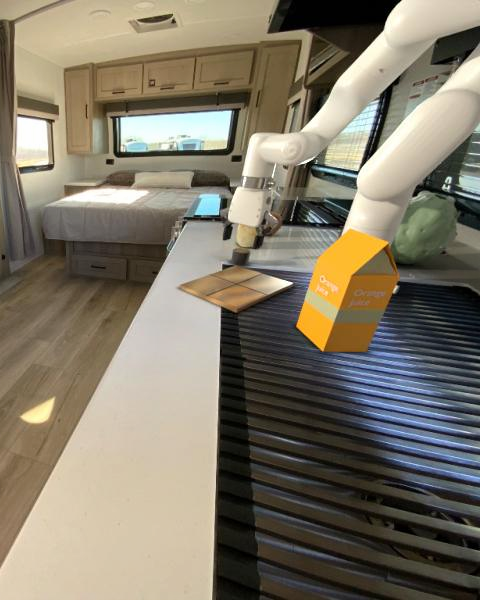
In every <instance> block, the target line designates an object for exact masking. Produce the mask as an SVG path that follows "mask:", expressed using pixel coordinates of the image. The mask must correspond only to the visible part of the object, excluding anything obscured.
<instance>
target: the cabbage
mask: <svg viewBox="0 0 480 600" xmlns="http://www.w3.org/2000/svg"><path fill="white" fill-rule="evenodd" d="M455 202H456V199H455V197H453V196H450V195H448V196H447V195H444V194H439V193H438V192H431V191H429V190H422V191H420V192H419V193H418V194H417V196H415V197H413V198H412V197H411V199H410V202H409V204H408V207H407V209H406V211H405V214H404V216H403V219H402V221H401V223H400V226H399V228H398V230H397V233H396V235H395V237H394V240H393V242H392V245H391V247H390V250H391V253H392V257H393V260H394V263H396V264H397V263H398V264H401V265H417V264H423V263H425V262H427V261H430V260H433V259H436V258H438V257H439V256H440V255H441V254H442V253H443V252H444V251H446V250H447V248H449V246H450V245H451V244H453V242H454V241H455V240H456V237H457V236H458V232H457V230H458V227H457V224H458V220H457V219H458V218H460V215H461V210H460V211H458V212H457V208H456V206H455Z"/></svg>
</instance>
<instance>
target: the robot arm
mask: <svg viewBox="0 0 480 600" xmlns="http://www.w3.org/2000/svg"><path fill="white" fill-rule="evenodd" d="M479 26H480V0H401V1H400V2H398V3H397V4H396V5H395V7H394V8H393V9H392V10H391V12H390V13H389V15H388V16H387V19H386V21H385V25H384V27H383V31H381V32H380V34H379V35H377V37H376V38H375V39H374V40H373V41H372V42H371V44H369V46H368V47H367V48H366V49H365V50H364V51H363V52H362V53H361V54H360V55H359V56H358V58H357V59H356V60H354V62H353V63H352V64H351V65H349V67H348V68H347V69H346V70H345V71H344V72H343V73H342V74H341V75H340V77H339V78H338V79H337V81H336V82H335V84H334V86H333V87H332V89H331V92H330V94H329V96H328V98H327V99H326V101H325V103H324V104H323V106H321V108H320V109H319V111H318V112H317V113H316V114H315V115H314V116H313V117H312V119H311V120H309V122H308V123H307V124H306V125H305V126H304V127H303V128H302V129H301V130H300V131H296V132H287V133H279V132H255V133H254V134H252V135H251V136H250V138H249V140H248V141H249V142H248V145H247V150H246V155H245V160H244V164H243V170H242V172H241V173H242V174H241V176H240V177H241V178H240V183H239V186H237V187H236V189H235V191H234V194H233V197H232V199H231V202H230V205H229V206H228V207H226V208H223V209H220V210H219V216H220V221H221V223H222V227H223V231H222V239H221V240H222V241H223V242H225V241H229V240H231V239H232V233H233V229H234V226H233V225H234V224H236V225H238V224H240V225H244V226H249V227H254V228H255V229H256V231H257V233H258V235H256V236H255V239H254V243H253V247H251V249H253V250H259V249H261V247H262V246H263V244H264V240H265V236H267V235H266V234H267V233H269V232H271V231H272V230H273V229H274V228H275V227H276V226H277V225H278V223H279V222H278V221H277V220H276V219H275V218H274V217H273V216H271V215H270V212H272V211H271V210H272V204H273V189H272V188H271V187H275V186H276V184H277V181H276V180H274V173H275V169H276V166H277V165H280V166H284V167H295V166H299V165H302V164H306V163H308V162H310V161H312V160H314V158H316V157H317V156H318V155H319V154H320V153H321V152H323V150H325V149H326V148H327V147H329V145H330V144H331V143H332V142H333V141H334V140H335V139H336V138H337V137H338V136H339V135H340V134H342V132H343V131H344V130H345V129H346V128H347V127H349V125H350V124H352V122H353V121H355V119H357V117H359V116H360V115H361V114H362V113H363V112H364V111H365V110H366V109H367V107H368V106H369V105H371V103H373V102H374V101H375V100H376V99H377V97H379V96H380V95H381V94H382V93H383V92H384V91H385V90H386V89H387V88H388V87H389V86H390V85H391V84H392V83H393V82H394V81H396V80H397V78H399V76H401V75H402V73H404V72H405V70H407V69H408V68H409V67H410V66H411V65H412V64H413V63H414V62H415V61H417V60H418V59H419V58H420V57H421V56H422V55H423V54H424V53H425V52H426V51H427V50H428V49H429V48H430V47H431V46H432V45H433V44H434V43H435V42H436V41H437V40H438V39H440V38H443V37H447V36H450V35H453V34H457V33H461V32H463V31H464V32H465V31H467V30H470V29H473V28H476V27H479ZM479 125H480V42H479V43H478V44H477V46H476V47H475V48H474V50H473V51H472V52H471V53H470V55H468V57H467V58H466V59H465V60H464V61H463V62H461V64H460V65H459V66H458V68H457V69H456V70H455V71H454V72H453V74H452V75H451V76H450V77H449V78H447V80H446V81H445V82H444V84H442V85H441V87H440V88H438V89H437V91H435V93H434V94H433V95H431V96H429V97H428V98H426V99H425V100H423V101H422V102H421V103H420V104H418V105H417V106H416V107H415V109H413V110H412V111H411V112H410V113H409V115H408V116H407V117H406V118H405V119H404V120H403V121H402V122H401V124H400V125H399V126H397V128H396V129H395V131H393V133H391V135H390V136H389V137H388V138H387V139H386V140H385V141H384V142H383V144H382V145H381V146H379V148H378V149H377V150H376V151H375V152H374V154H373V155H372V156H371V157H369V159H368V160H367V161H366V162H365V164H363V166H362V167H361V169H360V170H359V172H358V174H357V177H356V187H357V191H356V193H355V196H354V198H353V201H352V204H351V206H350V210H349V212H348V215H347V218H346V221H345V224H344V226H343V230H342V233H341V235H340V237H341V236H342V235H343V234H344V233H345V232H346V231H348V230H349V229H353V230H356V231H359V232H361V233H364V234H367V235H370V236H373V237H375V238H378V239H381V240H384V241H387V242H389V243H388V244H389V247H391V245H392V242H393V240H394V237H395V235H396V233H397V230H398V228H399V226H400V223H401V221H402V219H403V216H404V214H405V211H406V209H407V207H408V204H409V202H410V200H411V199H412V197H413V195H414V192H415V191H416V187H417V186H418V185H419V184H420V183H421V182H422V181H423V180H425V179H426V177H428V176H429V175H430V174H431V173H432V172H433V171H434V170H435V169H437V168H438V166H439V165H440V164H442V162H444V161H445V159H447V158H448V157H449V156H450V155H451V154H452V153H453V152H454V151H455V150H457V149H458V147H459V146H460V145H462V144H463V143H464V142H465V141H466V140H467V139H468V138H469V137H470V136H471V135H472V134H473V132H475V130H476V129H477V128H478V127H479ZM269 189H271V190H269ZM227 213H228V214H227ZM268 222H269V223H270V225H269V226H268V227H267V228H266V227H265V225H267V223H268ZM399 289H400V285H397V284H396V286H395V289H394V291H393V293H392V295H396V294H397V293H398V292H399Z"/></svg>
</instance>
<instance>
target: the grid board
mask: <svg viewBox="0 0 480 600" xmlns="http://www.w3.org/2000/svg"><path fill="white" fill-rule="evenodd" d="M293 286H294V282H291V281H287V280H284V279H281V278H278V277H274V276H271V275H268V274H266V273H263V272H259V271H255V270H252V269H250V268H246V267H244V266H238V265H234V266H231V267H228V268H224V269H222V270H219V271H216V272H213V273H209V274H208V275H205V276H202V277H199V278H195V279H193V280H189V281H187V282H184V283H181V284H179V288H178V289H179V290H182V291H183V292H186V293H188V294H191V295H193V296H195V297H198V298H201V299H202V300H206V302H207V301H208V302H210V303H212V304H215V305H217V306H220V307H222V308H224V309H226V310H229V311H231V312H233V313H236V314H237V313H239V312H242V311H244V310H246V309H248V308H250V307H252V306H254V305H257V304H259V303H261V302H263V301H265V300H267V299H270V298H271V297H274V296H276V295H277V294H280V293H282V292H284V291H287V290H288V289H291V288H293Z"/></svg>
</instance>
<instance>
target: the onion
mask: <svg viewBox="0 0 480 600" xmlns="http://www.w3.org/2000/svg"><path fill="white" fill-rule="evenodd" d="M270 215H271V216H273V217H274V218H275V219H276V220H277V221H278V222H279V223H278V225H277V226H276V227H275V228H274V229H273V230H272V231H271V232H269V233H267V234H266V235H265V236H269V237H270V236H273V235H275V234H276V233H277V232H278V231H280V229H281V228H282V225H283V218H282V216H281V215H280V214H279V213H278V212H275V211H270ZM269 225H270V223H269V222H268V223H267V225H265V227H266V228H267V227H268V226H269Z"/></svg>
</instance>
